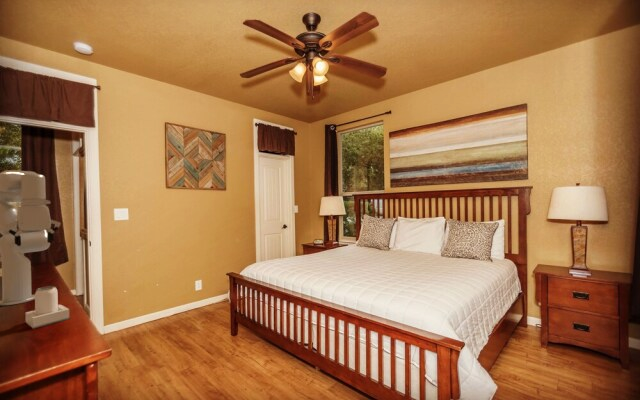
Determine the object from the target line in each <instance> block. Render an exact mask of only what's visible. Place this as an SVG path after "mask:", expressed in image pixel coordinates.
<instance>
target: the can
mask: <svg viewBox="0 0 640 400" xmlns="http://www.w3.org/2000/svg"><path fill="white" fill-rule="evenodd" d="M58 292H59V291H58V289H57V286H55V285H47V286H42V287H39V288H36V291H35V293H34V295H35V299H34V310H35V315H36V316H40V315H44V314H48V313H52V312H56V311H58V305H59V300H58V299H59V298H58V297H59V296H58V294H59V293H58Z"/></svg>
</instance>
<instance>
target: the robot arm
mask: <svg viewBox="0 0 640 400" xmlns="http://www.w3.org/2000/svg"><path fill="white" fill-rule="evenodd" d="M46 193H47V192H46V177H45V175H43V174H40V173H36V172H35V171H31V170H11V169H10V170H4V171H1V172H0V235H2V236H1V237H0V259H1V280H2V281H1V282H2V283H1V284H2V286H1V287H2V291H1V292H2V299H1V300H0V306H12V305H19V304H23V303H28V302H31V301H33V300H35V294H32V269H31V268H32V265H31V264H32V263H31V260H30V259H29V257H27V256H25V255H24V254H26V253H34V252H35V253H36V252H42V251H46V250H47V249H48V250H49V248H50V246H51V243H52V242H53V241H54V234H55V232H57V231H58V230H59V227H60V226H61V224H62V223H61V222H60V221H57V220H55V219H51V215H50V209H49V206H47V205H49V204H51V200H47V197H46V196H47V195H46ZM11 203H21V206H18V207H17V208H16V207H15V206H14V205H11ZM52 224H53V225H54V227H52ZM51 227H52V228H51Z"/></svg>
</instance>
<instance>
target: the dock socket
mask: <svg viewBox="0 0 640 400" xmlns="http://www.w3.org/2000/svg"><path fill="white" fill-rule="evenodd" d="M69 319H70V309H69V308H68V307H66V306H64V305H62V304H58V311H56V312H52V313H48V314H44V315H40V316H36V315H35V309H34V310H30V311H27V312H26V311H25V323H26V324H27V325H28V326H29V327H31V328H32V329H37V328H40V327H44V326H49V325H52V324H56V323H60V322H63V321H68V320H69Z"/></svg>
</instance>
